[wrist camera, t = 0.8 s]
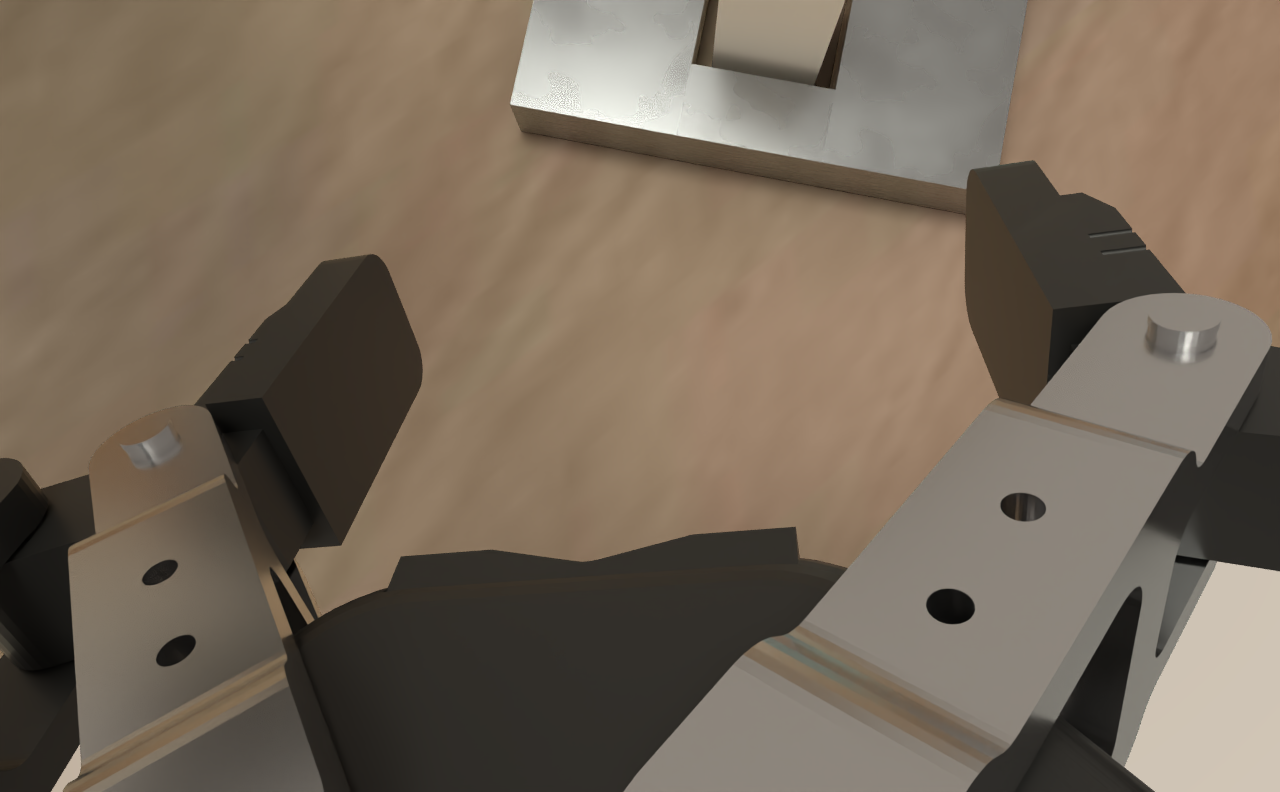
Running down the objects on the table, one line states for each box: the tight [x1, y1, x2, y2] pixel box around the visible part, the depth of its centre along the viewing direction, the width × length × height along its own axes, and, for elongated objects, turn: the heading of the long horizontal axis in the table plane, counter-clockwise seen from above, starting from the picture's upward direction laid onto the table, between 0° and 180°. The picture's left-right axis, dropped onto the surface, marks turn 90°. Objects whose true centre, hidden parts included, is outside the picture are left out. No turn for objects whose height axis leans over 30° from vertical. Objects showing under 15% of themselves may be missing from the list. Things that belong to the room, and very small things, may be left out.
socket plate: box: [510, 0, 1028, 214], centre depth 34 cm, size 18×11×2 cm, turn 78°
